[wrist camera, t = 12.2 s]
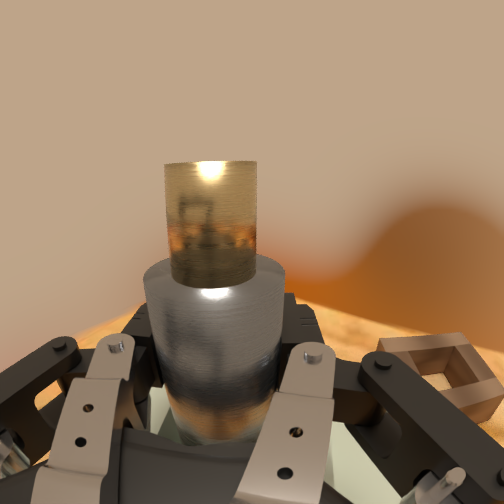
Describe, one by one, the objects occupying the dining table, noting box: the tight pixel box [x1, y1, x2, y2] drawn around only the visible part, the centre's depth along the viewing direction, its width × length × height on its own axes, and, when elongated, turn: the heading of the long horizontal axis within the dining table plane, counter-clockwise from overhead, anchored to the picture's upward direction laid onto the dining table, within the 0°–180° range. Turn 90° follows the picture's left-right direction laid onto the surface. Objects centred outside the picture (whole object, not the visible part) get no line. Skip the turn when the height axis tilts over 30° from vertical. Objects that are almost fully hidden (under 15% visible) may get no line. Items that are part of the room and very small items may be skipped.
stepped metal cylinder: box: [143, 161, 285, 446], centre depth 9 cm, size 4×4×14 cm
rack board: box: [149, 385, 402, 504], centre depth 11 cm, size 20×14×5 cm
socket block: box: [376, 332, 504, 424], centre depth 17 cm, size 9×9×3 cm
